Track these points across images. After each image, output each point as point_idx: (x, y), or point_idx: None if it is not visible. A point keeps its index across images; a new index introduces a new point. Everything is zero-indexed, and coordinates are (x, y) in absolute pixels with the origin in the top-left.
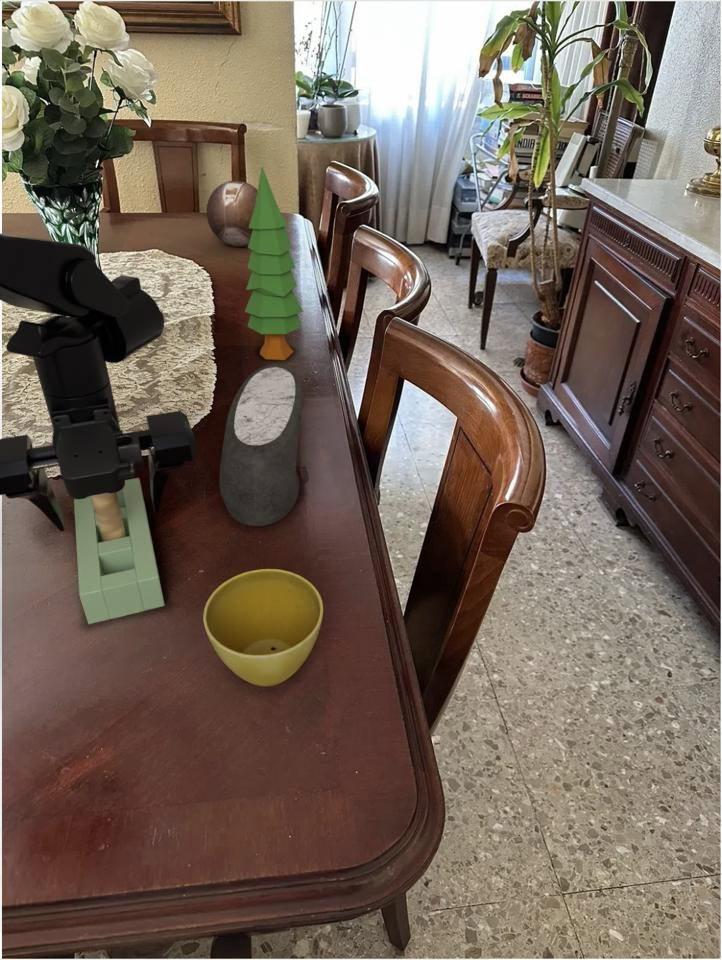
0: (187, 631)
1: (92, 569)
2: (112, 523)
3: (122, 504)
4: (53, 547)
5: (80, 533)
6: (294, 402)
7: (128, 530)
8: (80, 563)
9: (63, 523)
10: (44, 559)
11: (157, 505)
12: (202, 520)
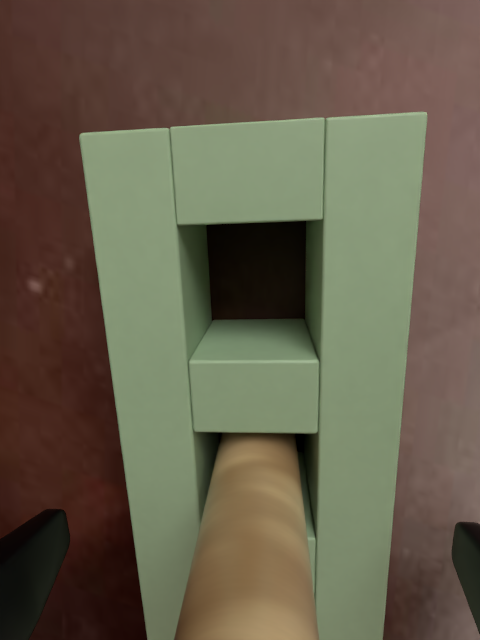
0: (75, 18)
1: (352, 276)
2: (241, 496)
3: None
4: (434, 513)
5: (376, 506)
6: None
7: None
8: (397, 330)
9: (467, 563)
10: (465, 475)
11: (15, 536)
12: (35, 486)
